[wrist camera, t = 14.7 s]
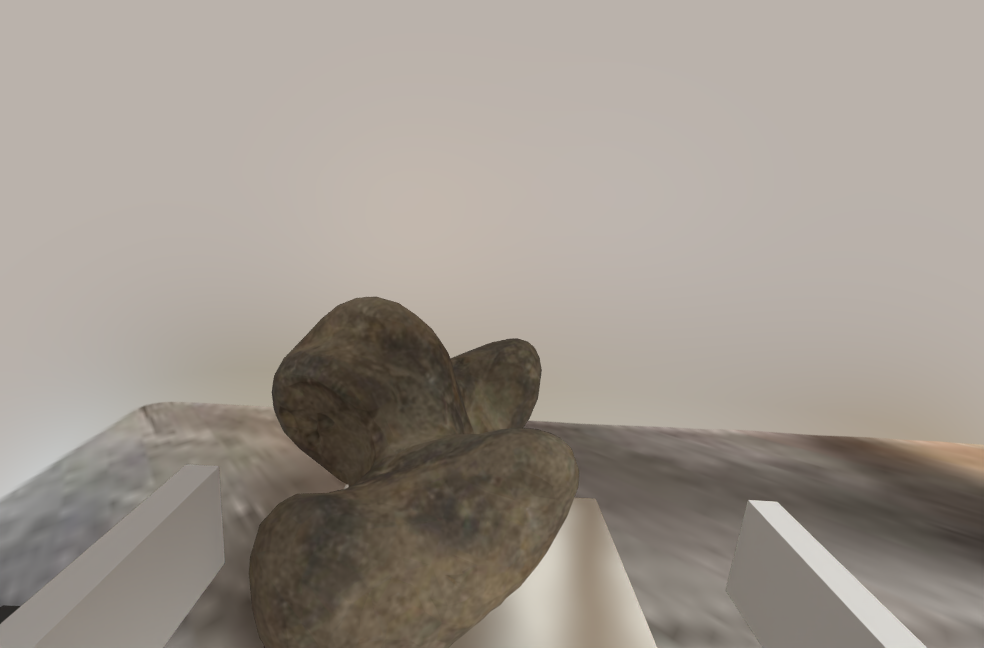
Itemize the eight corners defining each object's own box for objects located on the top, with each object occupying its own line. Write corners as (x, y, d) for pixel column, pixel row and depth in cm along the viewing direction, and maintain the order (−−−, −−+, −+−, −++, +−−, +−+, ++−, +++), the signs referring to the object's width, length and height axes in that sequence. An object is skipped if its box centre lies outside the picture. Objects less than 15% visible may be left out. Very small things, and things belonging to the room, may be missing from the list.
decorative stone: (346, 508, 28) (350, 266, 25) (523, 523, 28) (551, 284, 25) (160, 864, 13) (100, 352, 9) (551, 897, 13) (638, 400, 9)
